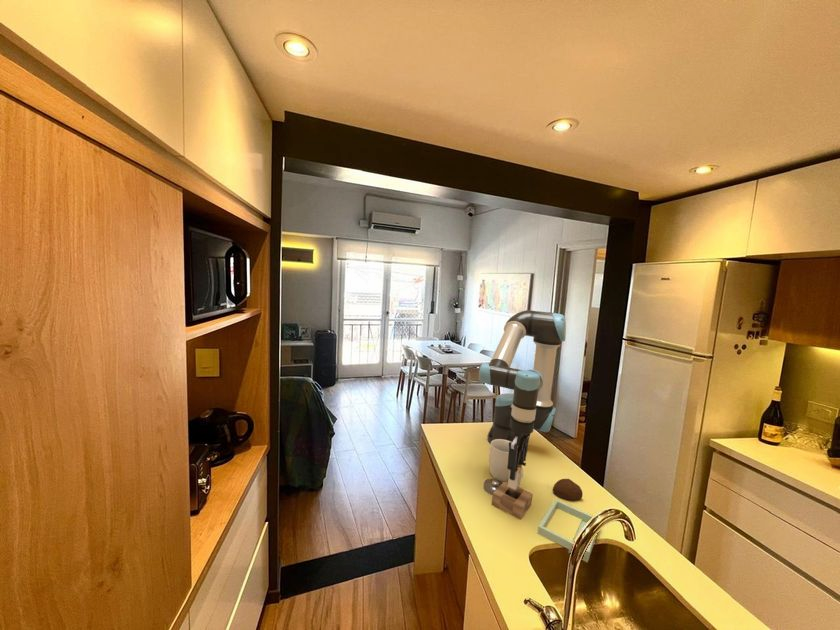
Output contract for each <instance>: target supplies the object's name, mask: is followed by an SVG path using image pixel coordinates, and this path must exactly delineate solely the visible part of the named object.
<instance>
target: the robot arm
mask: <svg viewBox="0 0 840 630" xmlns="http://www.w3.org/2000/svg"><path fill="white" fill-rule="evenodd" d="M566 323H567V322H566V317H565V316H564V314H562V313H561V314H560V313H557V312H549V311H538V310H530V309H529V310H523V311H519V312H517V313H515V314H513V315H512V316H511V317H510V318H509V319H507V321H506V323H505V324H504V327H503V334H502V335H501V338H500V340H499V343H498V344H497V347H496V349H495V351H494V353H493V355H492V357H491V360H490V362H483V363H481V364H480V367H479V370H478V380H479V382H480V383H482V384H486V385H489V386H493V387H494V386H495V387H500V388H505V389H509V390H513V393H500V394H499V395H497V396H496V398H495V403H494V412H493V418H492V421H493V422H492V425H491V427H490V429H489V431H488V434H487V438H486V439H487V441H488V443H489V445H490V444H491V441H493V440H496V439H503V440H508V441H511V442H509V455H508V466H507V469H509V470H510V472H509V480H508V481H507V482H508V487H510V488H512V489H514V490H516V487H517V480H518V472H519V470H518V465H520V466H521V473H520V480H519V486H521V482H522V479H521V476H522V468H523V467H525V466H527V465H526V464H527V463H526V460H527V455H528V447H529V441H530V438H531V437H530V436H531V434H532V433H533V432H534V431H538V432H544V433H548V432H550V430H551V428H552V425H553V421H554V417H555V413H556V409H557V408H556V407H554V402H553V400H552V399H551V393H552V386H553V379H554V373H555V372H554V371H555V365H556V364H555V363H556V357H557V356H556V355H557V349H558V348H559V347H560V346H561V345H562V342H566V335H567V334H566V333H567V332H566V331H567V329H566V327H567V325H566ZM525 336H527V337H533V338H532V340H533V343H534V344H535V353H534V359H533V360H534V362H533V369H525V370H524V369H519V368H512V367H511V365H512V364H513V361H514V358H515V356H516V353H517V350H518V348H519V345H520V343H521V341H522V339H523V338H525ZM523 469H524V468H523Z"/></svg>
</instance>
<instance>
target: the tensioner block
mask: <svg viewBox="0 0 840 630" xmlns="http://www.w3.org/2000/svg"><path fill="white" fill-rule="evenodd" d="M502 482H503V483H502V484H501V485H500V486H499V488H498V489H497V490H496V491H495V492H494V493H493V495H491V496H492V497H491V506H493V507H495V508H497V509H500V510H501V511H503V512H504V513H507V514H508V515H510V516H512V517H514V518H516V519H518V520H521V519H522V518H523V517H524V516H525V514H526V513H527V512H528V510H529V508H530V507H531V506H532V503H533V502H532V501H533V492H530V491H528V490H526V489H524V488H522V487H519V488H518V496H517V499H515V498H513V497H511V496H509V495H508V492H509V487H508V481H502Z"/></svg>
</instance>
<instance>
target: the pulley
mask: <svg viewBox="0 0 840 630" xmlns="http://www.w3.org/2000/svg"><path fill="white" fill-rule="evenodd" d="M503 482H504V481H500V480H498V479H496V478H487V479H485V480H484V482H483V490H484V491H485V492H486V493H487V494H489V495H491V496H493V493H494V492H495V491H496V490H497V489H498V488H499V486H500V485H501V484H502V483H503Z"/></svg>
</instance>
